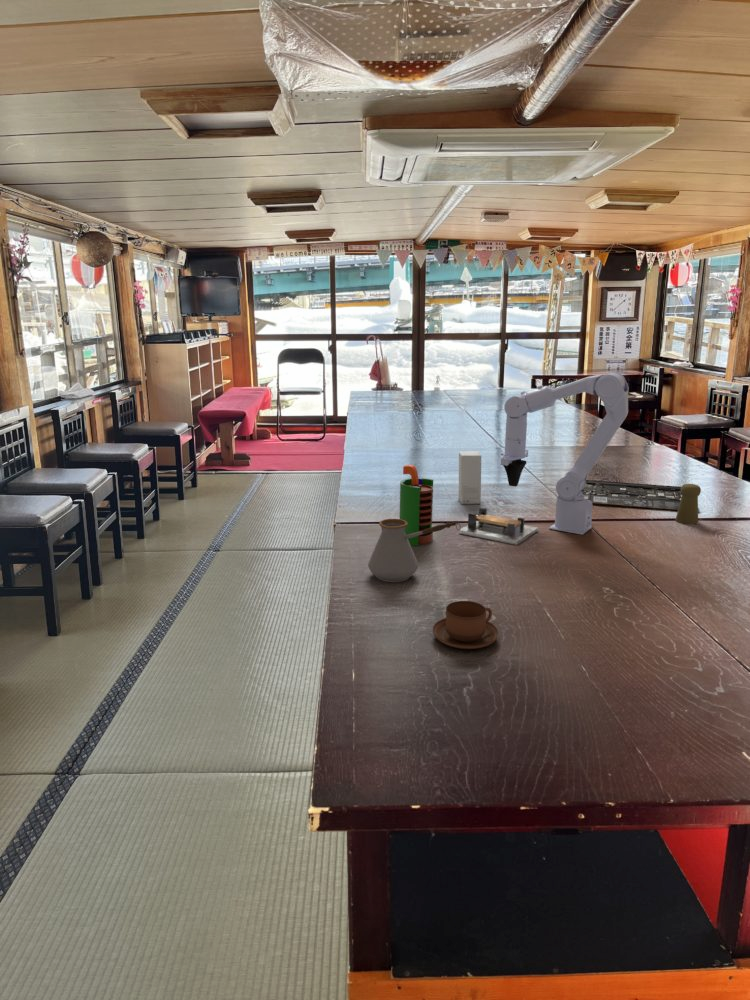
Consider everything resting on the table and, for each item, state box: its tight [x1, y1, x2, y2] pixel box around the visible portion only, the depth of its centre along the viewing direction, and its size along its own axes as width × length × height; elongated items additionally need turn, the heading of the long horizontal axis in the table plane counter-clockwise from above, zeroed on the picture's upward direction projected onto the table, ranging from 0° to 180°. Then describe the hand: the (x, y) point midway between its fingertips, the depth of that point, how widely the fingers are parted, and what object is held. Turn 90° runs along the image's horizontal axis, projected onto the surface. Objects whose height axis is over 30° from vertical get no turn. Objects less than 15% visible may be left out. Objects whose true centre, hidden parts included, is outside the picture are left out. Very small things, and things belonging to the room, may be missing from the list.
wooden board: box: [476, 513, 521, 527], centre depth 187 cm, size 13×5×1 cm, turn 55°
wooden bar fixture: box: [458, 507, 539, 546], centre depth 186 cm, size 17×14×5 cm
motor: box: [399, 464, 434, 547], centre depth 179 cm, size 10×9×20 cm
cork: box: [674, 483, 702, 525], centre depth 194 cm, size 6×6×11 cm
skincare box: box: [458, 450, 482, 505], centre depth 216 cm, size 8×7×16 cm
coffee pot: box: [367, 518, 462, 583], centre depth 153 cm, size 21×12×15 cm, turn 66°
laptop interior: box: [581, 479, 700, 512], centre depth 221 cm, size 35×28×2 cm
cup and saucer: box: [432, 600, 499, 650], centre depth 126 cm, size 12×12×6 cm
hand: (513, 485), depth 194 cm, fingers closed
